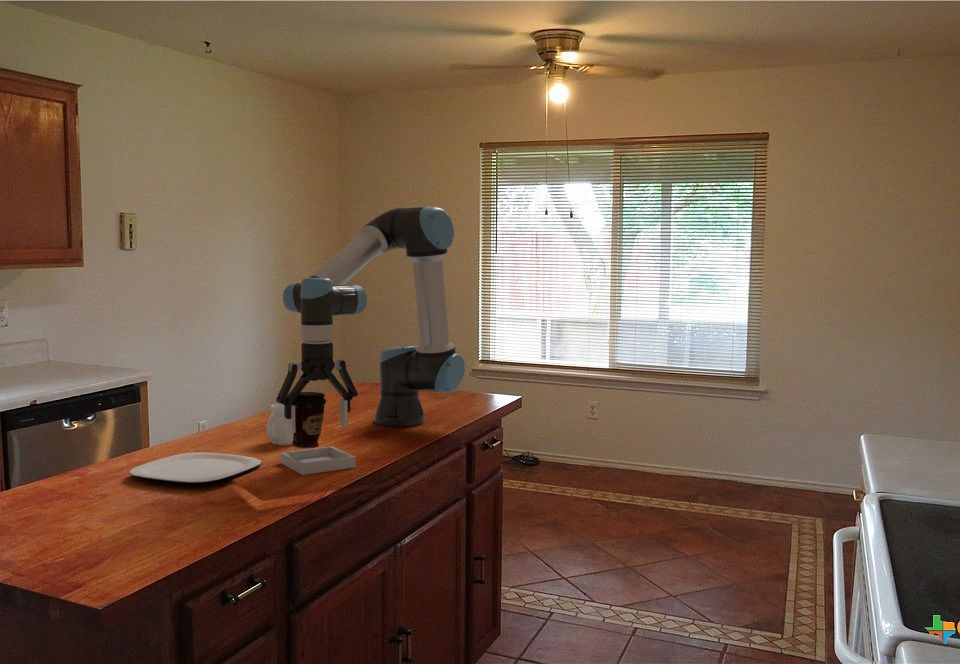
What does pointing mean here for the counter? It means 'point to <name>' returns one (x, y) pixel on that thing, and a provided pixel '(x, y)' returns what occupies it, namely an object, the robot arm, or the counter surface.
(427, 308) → the robot arm
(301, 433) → the coffee cup
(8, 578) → the counter surface
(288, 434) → the mug
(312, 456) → the gray square tray
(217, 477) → the plate
